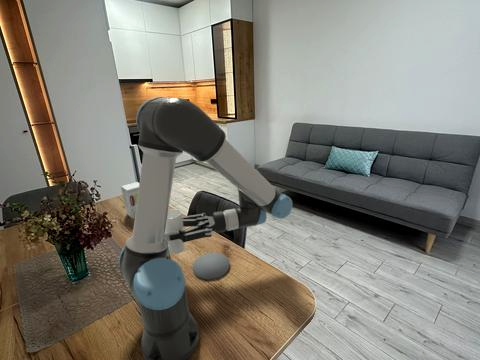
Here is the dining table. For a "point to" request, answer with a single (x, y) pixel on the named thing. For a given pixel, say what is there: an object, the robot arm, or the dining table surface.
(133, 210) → the supplement box
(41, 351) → the dining table surface
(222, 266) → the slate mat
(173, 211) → the drinking glass
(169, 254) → the teal block
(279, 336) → the dining table surface
